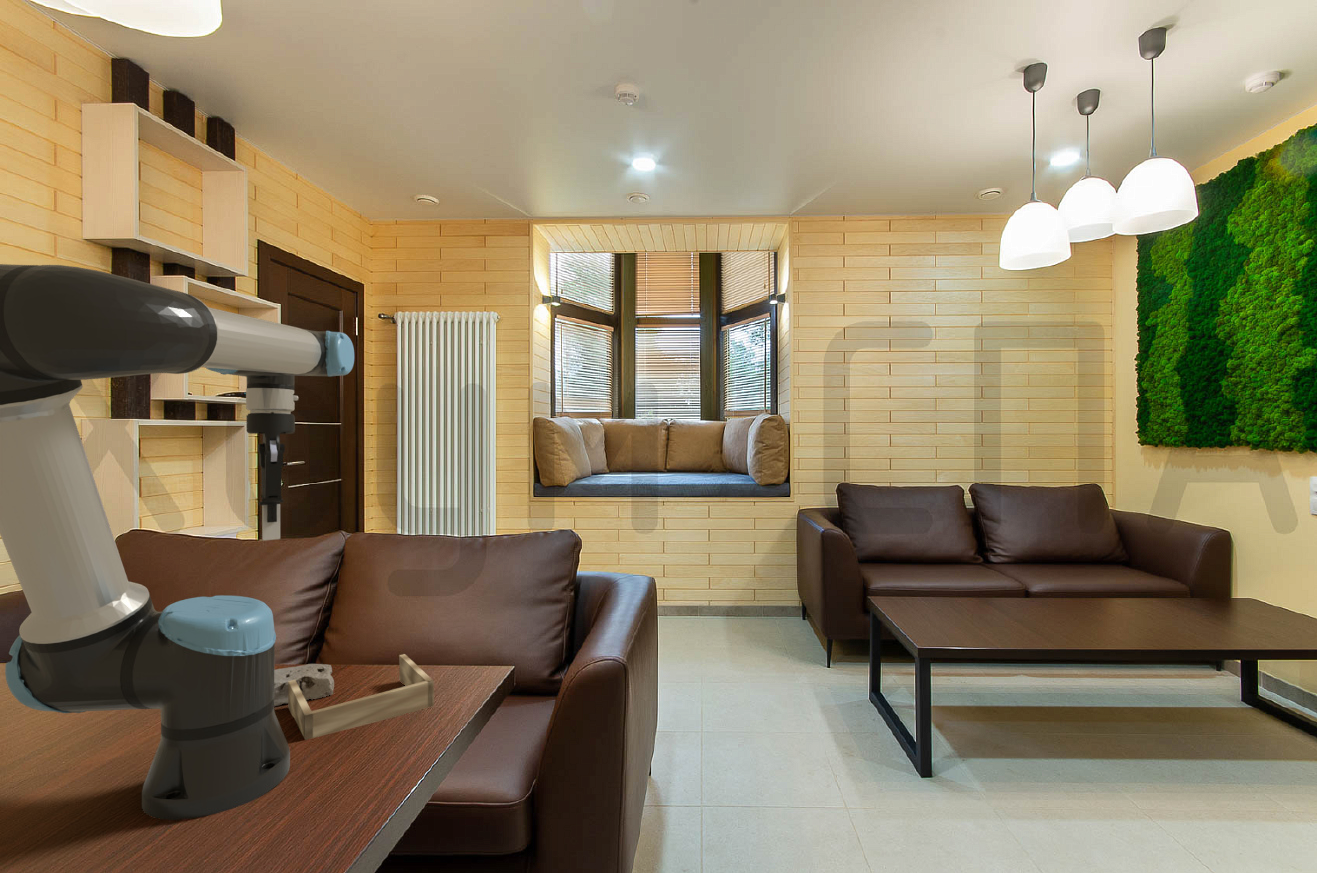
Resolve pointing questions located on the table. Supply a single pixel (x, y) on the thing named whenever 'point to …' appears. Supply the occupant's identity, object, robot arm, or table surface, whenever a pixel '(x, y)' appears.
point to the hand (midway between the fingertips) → (271, 539)
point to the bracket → (364, 704)
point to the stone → (303, 682)
